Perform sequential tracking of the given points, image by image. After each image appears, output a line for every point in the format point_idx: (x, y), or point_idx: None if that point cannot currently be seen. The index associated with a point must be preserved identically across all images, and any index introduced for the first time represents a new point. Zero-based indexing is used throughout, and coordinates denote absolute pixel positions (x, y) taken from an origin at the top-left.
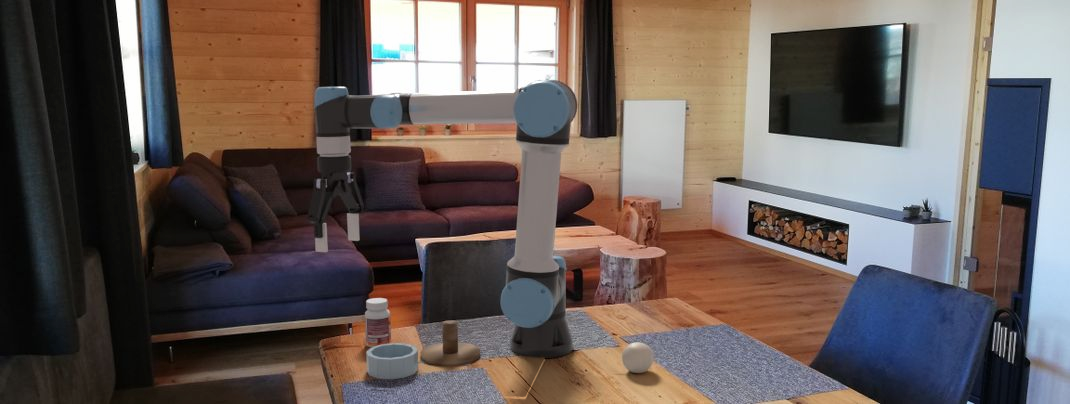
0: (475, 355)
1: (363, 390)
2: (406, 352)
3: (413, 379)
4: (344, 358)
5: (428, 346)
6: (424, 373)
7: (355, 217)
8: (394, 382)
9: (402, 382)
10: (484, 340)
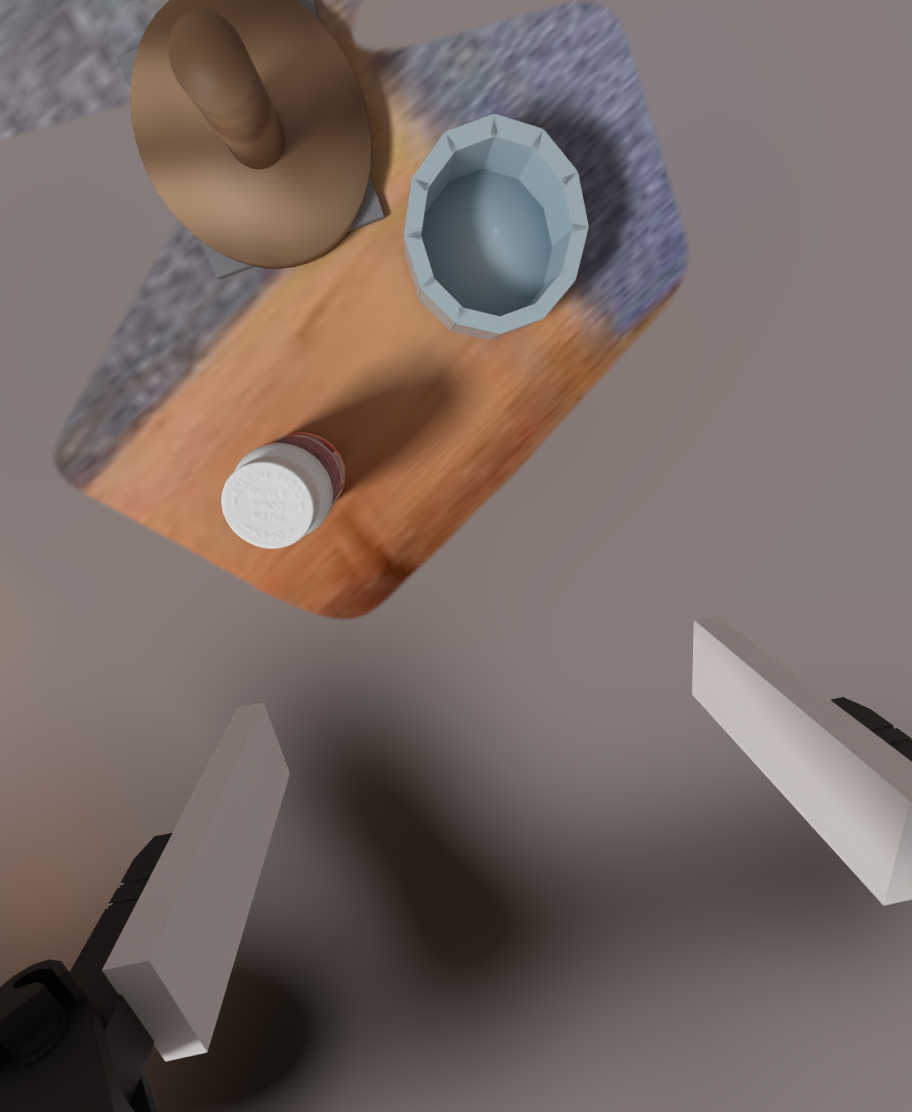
0: None
1: (644, 236)
2: (422, 227)
3: None
4: (453, 478)
5: (260, 259)
6: None
7: (182, 920)
8: None
9: None
10: (10, 132)
